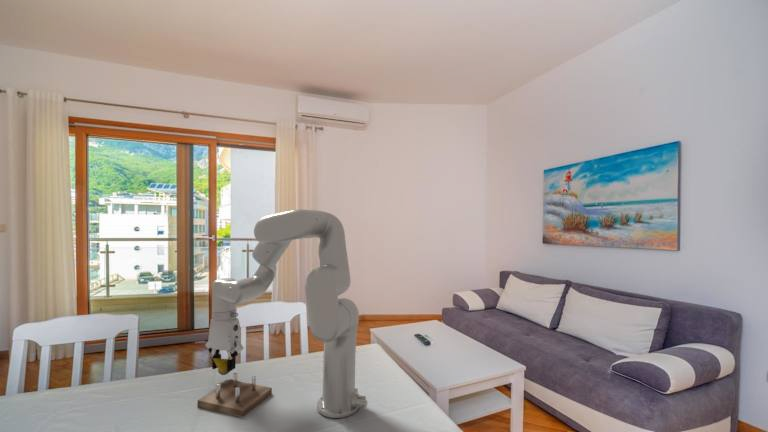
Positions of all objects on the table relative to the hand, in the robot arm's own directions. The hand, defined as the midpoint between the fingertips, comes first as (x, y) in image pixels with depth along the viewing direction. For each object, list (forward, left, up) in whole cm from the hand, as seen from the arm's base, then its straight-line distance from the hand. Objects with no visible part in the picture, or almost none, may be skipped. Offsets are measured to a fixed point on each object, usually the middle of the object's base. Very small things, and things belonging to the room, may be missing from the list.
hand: (223, 368), depth 109 cm
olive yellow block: (0, 0, -2) cm, 2 cm away
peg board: (-12, +8, -4) cm, 15 cm away
